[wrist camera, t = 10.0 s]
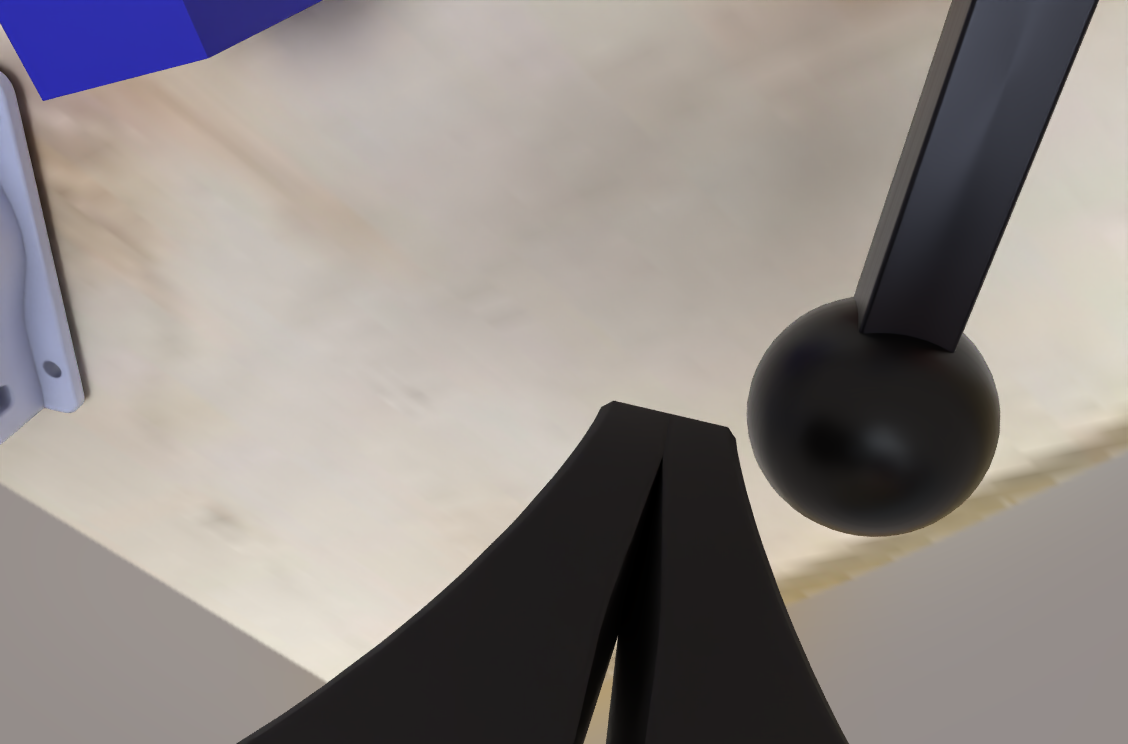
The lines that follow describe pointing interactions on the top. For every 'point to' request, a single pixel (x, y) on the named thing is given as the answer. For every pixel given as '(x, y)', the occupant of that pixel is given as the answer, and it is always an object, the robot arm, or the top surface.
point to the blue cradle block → (127, 36)
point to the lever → (919, 292)
